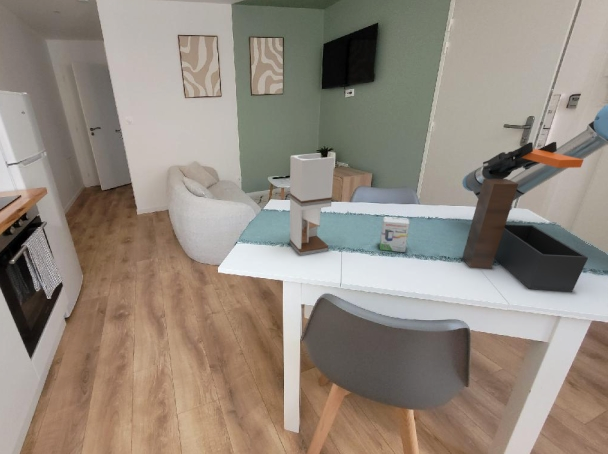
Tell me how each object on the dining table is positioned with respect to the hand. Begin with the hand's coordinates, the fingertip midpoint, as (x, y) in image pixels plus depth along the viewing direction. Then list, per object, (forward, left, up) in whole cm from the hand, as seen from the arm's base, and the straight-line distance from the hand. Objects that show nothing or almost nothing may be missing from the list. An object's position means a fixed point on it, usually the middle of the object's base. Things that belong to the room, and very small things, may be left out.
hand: (542, 146), depth 83 cm
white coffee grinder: (+37, +53, -37) cm, 75 cm away
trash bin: (-7, +1, -37) cm, 38 cm away
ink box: (+22, +26, -37) cm, 51 cm away
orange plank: (-2, +1, -4) cm, 4 cm away
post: (+2, +10, -37) cm, 39 cm away
